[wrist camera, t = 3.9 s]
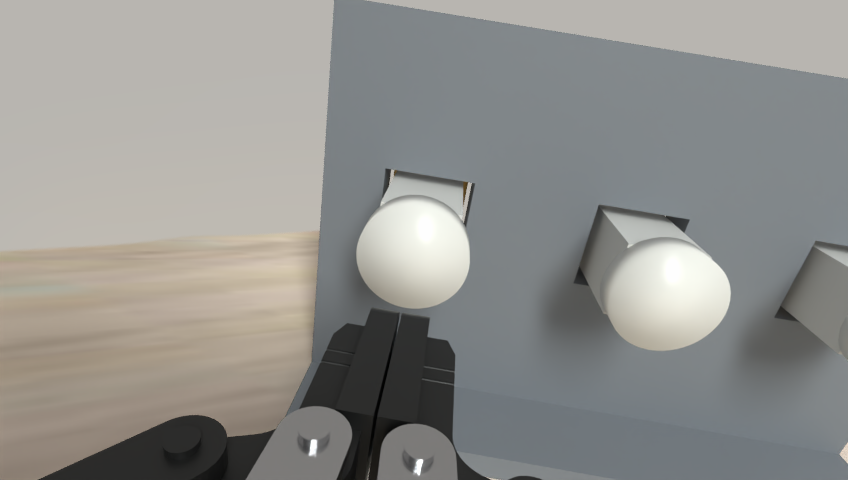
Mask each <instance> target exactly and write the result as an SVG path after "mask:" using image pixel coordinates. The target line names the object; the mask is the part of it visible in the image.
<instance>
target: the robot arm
mask: <svg viewBox="0 0 848 480" xmlns="http://www.w3.org/2000/svg"><path fill="white" fill-rule="evenodd" d="M399 316H400V312H397V311H392V310H386V309H380V308H374V307H372V308H371V310H370V313H369V315H368V318H367V321H366V324H365V326H361V325H355V324H350V323H347V324H345V325H344V326H343V327H341V328H340V329H339V330H338V331H336V332H335V333H334V334H333V336H332V338H331V340H330V342H329V344H328V347H327V350H326V351H325V353H324V355H323V358H322V360H321V363H320V364H319V366H318V369H317V371H316V373H315V375H314V377H313V380H312V382H311V384H310V386H309V388H308V390H307V393H306V395H305V397H304V399H303V401H302V404H301V406H300V408H299V410H296V411H294V412H292V413H290V414H289V415H287V416H286V417H285V418H284V419H283V420H282V421H281V422H280V424H279V425H278V426H277V428H276V429H274V430H272V431H269V432H266V433H262V434H255V435H245V436H235V437H227V434H226V431H225V429H224V427H223V426H222V425H221V424H220V423H219V422H218V421H216V420H215V419H212V418H210V417H206V416H200V415H189V416H182V417H178V418H175V419H172V420H169V421H167V422H164V423H162V424H160V425H158V426H156V427H153V428H151V429H149V430H147V431H145V432H142V433H140V434H138V435H136V436H133V437H131V438H129V439H127V440H125V441H122V442H120V443H118V444H116V445H114V446H111V447H109V448H107V449H105V450H103V451H100V452H98V453H96V454H94V455H92V456H89V457H87V458H85V459H83V460H81V461H78V462H76V463H74V464H72V465H70V466H67V467H65V468H63V469H61V470H59V471H56V472H54V473H52V474H50V475H47V476H45V477H43V478H41V479H39V480H367V477H368V472H369V478H368V480H490V479H488V478H486V477H484V476H482V475H480V474H479V473H477V472H475V471H474V470H473V469H471V468H470V467H469V466H468V465H467V464H466V463H465V462H464V461H463V460H462V459H461V458H460V456H459V454H458V453H457V451H456V449H455V446H454V443H453V409H454V382H455V353H454V351H453V350H452V348H451V346H450V344H449V342H448V341H447V340H442V339H436V338H430V337H428V330H429V322H430V317H427V316H421V315H415V314H409V313H404V312H402V315H401V319H400V323H399ZM398 323H399V327H398ZM397 330H398V331H397ZM369 468H370V471H369ZM508 480H542V479H540V478H536V477H532V476H517V477H513V478H511V479H508Z"/></svg>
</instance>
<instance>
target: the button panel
mask: <svg viewBox="0 0 848 480" xmlns="http://www.w3.org/2000/svg"><path fill="white" fill-rule="evenodd" d="M391 169H393V170H399V171H405V172H411V173H417V174H423V175H429V176H434V177H440V178H446V179H452V180H458V181H464V182H470V183H472V186H471V191H470V196H469V201H468V206H467V211H466V216H465V221H464V225H465V227H466V229H467V232H468V236H469V244H470V265H469V271H468V274H467V277H466V279H465V281H464V283H463V285H462V286H461V288H460V289H459V290H458V291H457V292H456V293H455V294H454V295H453V296H452V297H451V298H449V299H448V300H446V301H444V302H442V303H440V304H438V305H435V306H432V307H428V308H421V309H411V308H404V307H399V306H396V305H393V304H391V303H389V302H387V301H385V300H383V299H382V298H380V297H379V296H377V295H376V294H375V293H374V292H373V291H372V290H371V289H370V288H369V287H368V286H367V284H366V283H365V282H364V280H363V278H362V276H361V274H360V272H359V269H358V265H357V258H356V250H357V244H358V241H359V238H360V236H361V234H362V232H363V230H364V228H365V226H366V224H367V222H368V220H369V219H370V217H371V216H372V214H373V213H374V212H375V211H376V210H377V209H378V208H379V207H380V205H381V200H382V199H383V197H384V195H385V193H386V191H387V189H388V187H389V181H390V173H391ZM599 204H601V205H607V206H613V207H619V208H625V209H631V210H637V211H642V212H648V213H654V214H660V215H666V218H668V219H669V220H670V221H671V222H672V223H673V224H674V225H675V226H677V227H678V228H679V229H680V230H681V231H682V232H683V233H685V234H686V235H687V236H688V237H689V238H690V239H691V240H693V241H694V242H695V243H696V244H697V245H698V246H699V247H701V248H702V249H703V250H704V251H705V252H706V253H707V254H708V255H710V256H711V257H712V260H713V261H714V262H715V263H716V264H718V265H719V267H720V268H721V269H722V270H723V271H724V273H725V274H726V276H727V278H728V281H729V284H730V291H731V297H730V303H729V307H728V309H727V312H726V314H725V316H724V318H723V319H722V321H721V322H720V323H719V325H718V326H717V327H716V328H715V329H714V330H713V331H712V332H711V333H709V334H708V335H707V336H706V337H704V338H703V339H701V340H699V341H697V342H695V343H694V344H691V345H689V346H686V347H683V348H679V349H674V350H667V351H654V350H647V349H643V348H640V347H637V346H635V345H633V344H631V343H629V342H627V341H626V340H625V339H623V338H622V337H621V336H620V335H619V334H618V332H617V331H616V330H615V328H614V326H613V325H612V323H611V321H610V319H609V317H608V315H607V314H603V312H602V310H601V308H600V306H599V304H598V302H597V300H596V298H595V296H594V294H593V292H592V290H591V288H590V286H589V284H588V282H587V280H586V278H585V276H584V274H583V272H582V270H581V268H580V266H579V265H580V262H581V259H582V255H583V252H584V249H585V246H586V243H587V240H588V237H589V234H590V230H591V227H592V224H593V221H594V218H595V215H596V212H597V209H598V206H599ZM815 241H821V242H827V243H833V244H839V245H844V246H848V79H846V78H839V77H834V76H827V75H821V74H815V73H809V72H802V71H797V70H790V69H784V68H778V67H771V66H766V65H759V64H753V63H747V62H741V61H735V60H729V59H722V58H716V57H710V56H704V55H698V54H692V53H686V52H679V51H673V50H667V49H661V48H654V47H648V46H643V45H636V44H630V43H624V42H618V41H612V40H606V39H599V38H593V37H586V36H581V35H575V34H568V33H562V32H556V31H549V30H544V29H537V28H532V27H525V26H519V25H513V24H507V23H500V22H495V21H488V20H482V19H476V18H470V17H464V16H457V15H451V14H445V13H439V12H433V11H426V10H420V9H414V8H408V7H402V6H396V5H390V4H384V3H377V2H371V1H365V0H334V13H333V29H332V46H331V61H330V78H329V95H328V111H327V126H326V142H325V158H324V175H323V191H322V206H321V222H320V238H319V254H318V270H317V286H316V302H315V318H314V334H313V350H312V362H311V364H310V366H309V368H308V371H307V373H306V375H305V377H304V379H303V381H302V383H301V385H300V387H299V389H298V391H297V393H296V396H295V398H294V400H293V402H292V404H291V406H290V408H289V410H288V412H287V414H286V416H287V415H289V414H290V413H292V412H294V411H296V410H299V408H300V406H301V404H302V401H303V399H304V397H305V395H306V393H307V390H308V388H309V386H310V384H311V382H312V380H313V377H314V375H315V373H316V371H317V369H318V366H319V364H320V363H321V360H322V358H323V355H324V353H325V351H326V350H327V347H328V344H329V342H330V340H331V338H332V336H333V334H334V333H335V332H336V331H338V330H339V329H340V328H341V327H343V326H344V325H345V324H347V323H350V324H355V325H361V326H365V324H366V321H367V318H368V315H369V313H370V310H371V308H372V307H374V308H380V309H386V310H392V311H397V312H400V316H399V323H400V319H401V315H402V312H404V313H409V314H415V315H421V316H427V317H430V322H429V330H428V337H430V338H436V339H442V340H447V341H448V342H449V344H450V346H451V348H452V350H453V351H454V353H455V382H454V409H453V443H454V446H455V449H456V451H457V453H458V454H459V456H460V458H461V459H462V460H463V461H464V462H465V463H466V464H467V465H468V466H469V467H470V468H471V469H473V470H474V471H475V472H477V473H479V474H480V475H482V476H485V477H490V478H496V479H501V480H508V479H511V478H513V477H517V476H532V477H536V478H540V479H542V480H848V464H847V463H846V461H845V460H844V459H843V458H842V457H841V456H840V455H839V454H840V452H841V451H842V449H843V448H844V447H845V445H846V444H847V442H848V361H847V360H846V358H845V357H844V356H843V355H842V354H837V353H836V352H835V351H834V350H833V349H832V348H830V347H829V346H828V345H827V344H826V343H824V342H823V341H822V340H821V339H820V338H818V337H817V336H816V335H815V334H814V333H812V332H811V331H810V330H809V329H808V328H807V327H805V326H804V325H803V324H802V323H801V322H799V321H798V320H797V319H796V318H795V317H793V316H792V315H791V314H790V313H789V312H787V311H786V310H785V309H784V308H783V307H782V306H781V304H782V302H783V300H784V298H785V297H786V295H787V293H788V291H789V289H790V287H791V285H792V284H793V282H794V280H795V278H796V276H797V274H798V273H799V271H800V269H801V267H802V265H803V263H804V261H805V260H806V258H807V256H808V254H809V252H810V250H811V248H812V247H813V245H814V243H815ZM399 323H398V327H399ZM397 331H398V330H397ZM286 416H285V417H286Z"/></svg>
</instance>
